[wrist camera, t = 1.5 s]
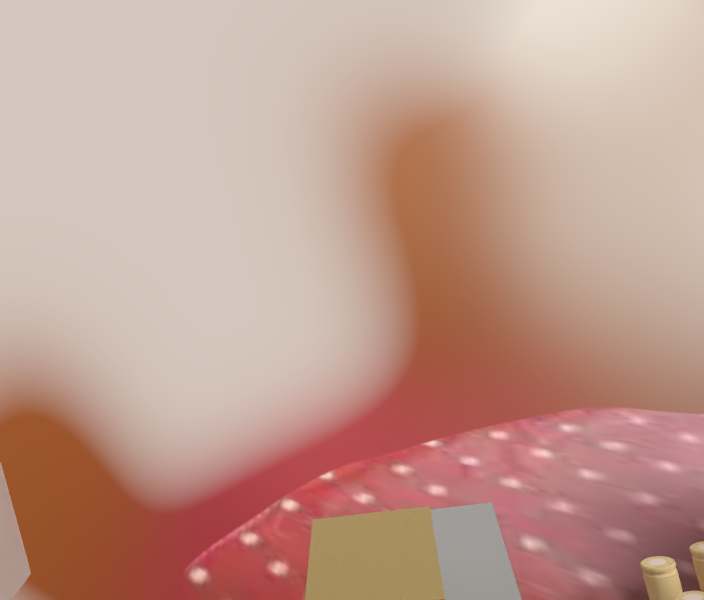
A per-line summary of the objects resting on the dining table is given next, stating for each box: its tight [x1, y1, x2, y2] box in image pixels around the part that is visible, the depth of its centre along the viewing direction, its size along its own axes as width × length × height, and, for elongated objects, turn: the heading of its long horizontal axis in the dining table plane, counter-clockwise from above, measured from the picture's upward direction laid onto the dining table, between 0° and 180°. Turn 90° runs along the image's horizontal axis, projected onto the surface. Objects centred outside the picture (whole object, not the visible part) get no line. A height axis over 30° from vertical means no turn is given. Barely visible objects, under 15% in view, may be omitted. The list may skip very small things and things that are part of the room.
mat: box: [430, 503, 522, 600], centre depth 39 cm, size 11×11×1 cm
